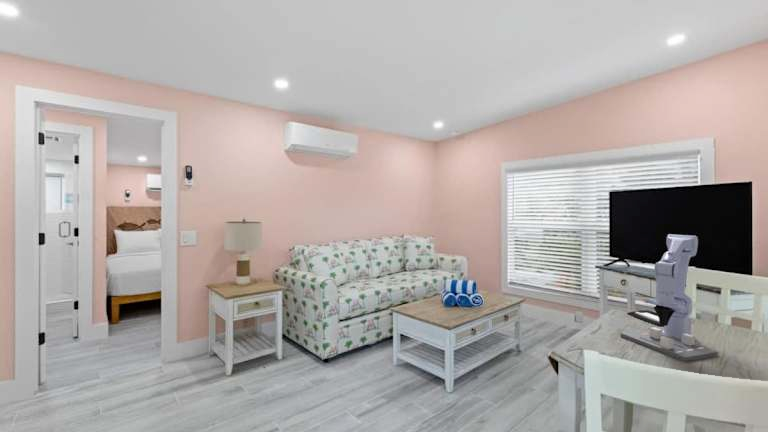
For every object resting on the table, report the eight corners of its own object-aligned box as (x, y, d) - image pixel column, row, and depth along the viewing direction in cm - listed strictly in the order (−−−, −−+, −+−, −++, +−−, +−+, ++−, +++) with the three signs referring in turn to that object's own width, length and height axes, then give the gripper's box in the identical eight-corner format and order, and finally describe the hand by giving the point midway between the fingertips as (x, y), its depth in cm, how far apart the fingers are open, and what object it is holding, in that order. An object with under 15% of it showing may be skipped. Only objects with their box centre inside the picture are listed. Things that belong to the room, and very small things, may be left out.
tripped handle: (653, 335, 141) (654, 327, 141) (661, 338, 139) (662, 329, 138) (649, 336, 141) (649, 327, 140) (657, 339, 138) (657, 330, 138)
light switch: (623, 310, 176) (647, 307, 178) (623, 316, 176) (648, 313, 178) (658, 324, 156) (685, 320, 158) (658, 330, 157) (685, 326, 158)
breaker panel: (650, 332, 150) (651, 320, 150) (717, 355, 127) (718, 342, 127) (620, 336, 145) (621, 324, 144) (684, 361, 122) (685, 347, 121)
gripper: (639, 288, 142) (638, 320, 142) (678, 297, 128) (677, 332, 128) (651, 287, 144) (650, 318, 144) (691, 295, 130) (689, 330, 131)
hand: (663, 325), depth 137 cm, fingers closed
